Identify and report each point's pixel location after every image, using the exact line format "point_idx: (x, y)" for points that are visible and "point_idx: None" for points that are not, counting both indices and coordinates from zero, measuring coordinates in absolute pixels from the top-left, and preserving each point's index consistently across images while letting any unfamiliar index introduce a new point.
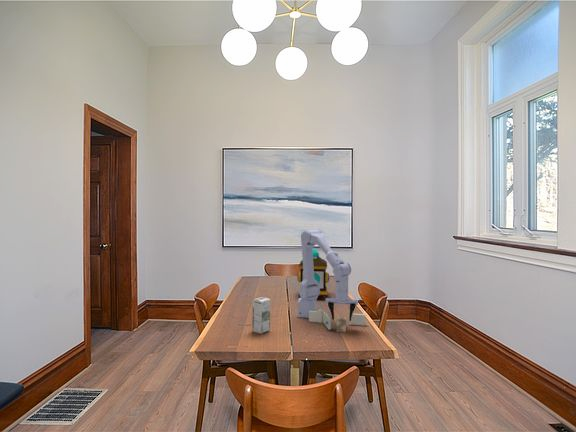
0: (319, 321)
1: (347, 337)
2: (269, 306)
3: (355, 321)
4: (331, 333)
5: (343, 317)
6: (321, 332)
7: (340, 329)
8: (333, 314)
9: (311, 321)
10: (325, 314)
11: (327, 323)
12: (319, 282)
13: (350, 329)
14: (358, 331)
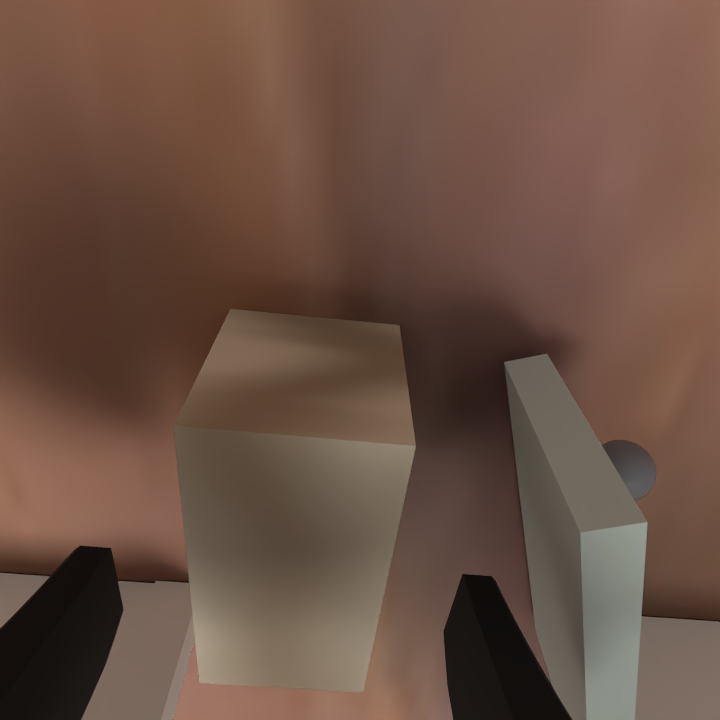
0: None
1: (168, 5)
2: None
3: None
4: (512, 228)
5: (252, 664)
6: (703, 262)
7: (325, 342)
8: (496, 696)
9: (711, 625)
10: (630, 717)
11: (612, 448)
12: None
13: (160, 438)
14: (10, 371)
